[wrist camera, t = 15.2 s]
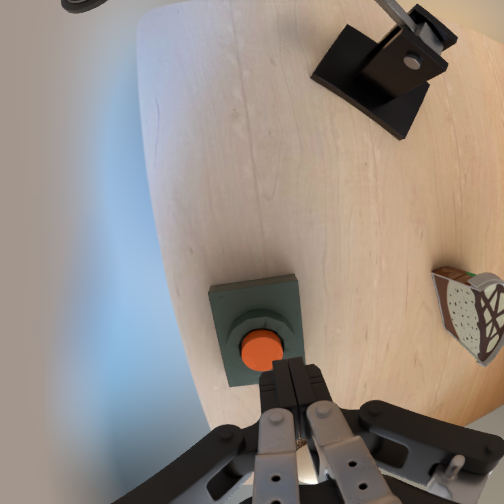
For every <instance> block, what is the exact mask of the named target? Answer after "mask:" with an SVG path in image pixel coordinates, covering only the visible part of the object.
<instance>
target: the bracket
mask: <svg viewBox="0 0 504 504" xmlns="http://www.w3.org/2000/svg"><path fill="white" fill-rule="evenodd" d="M407 14H408V15H409V17H410V18H411V19H412V20H413V21H414V23H415V24H418V23H424V22H426V23H427V24H428V26H429V27H430V28H431V30H432V31H433V32H434V34H435V35H436V37H437V38H438V39H439V41H440V42H441V44H442V45H443V50H442V51H444V50H446V49H447V48H449V47H451V46H452V45H454V44H455V43H456V42H457V39H458V37H457V36H456V35H455V34H454V33H453V32H451V31H450V30H449V29H448V28H447V27H446V26H445V25H444V24H442V23H441V22H440V21H439V20H438V19H436V18H435V17H434V16H433V15H432V14H430V13H429V12H428V11H427V10H425V9H424V8H423V7H421V6H420V5H419V4H416V5H415V6H414V7H413V8H412V9H411V10H410V11H409V12H408V13H407ZM447 67H448V63H447V62H446V61H445V60H444V59H443V58H442V57H441V56H440V55H439V54H437V53H436V52H435V51H434V50H433V49H432V48H430V47H429V46H428V45H427V44H426V43H425V42H423V41H422V40H421V39H420V38H418V37H417V36H416V35H415V34H413V33H412V32H411V31H409V30H408V29H407V28H405V27H404V28H403V29H401V28H400V27H399V26H398V25H397V24H396V25H395V26H394V27H393V28H392V29H391V30H390V31H389V32H388V33H387V34H386V35H385V36H384V37H383V38H382V39H381V40H380V41H379V42H378V43H376V42H375V41H373V40H372V39H370V38H369V37H367V36H366V35H364V34H363V33H361V32H359V31H358V30H356V29H355V28H353V27H351V26H350V25H348V24H347V25H346V26H345V28H344V29H343V31H342V32H341V33H340V35H339V36H338V38H337V39H336V41H335V42H334V43H333V45H332V46H331V48H330V49H329V51H328V52H327V53H326V55H325V56H324V58H323V59H322V61H321V62H320V64H319V65H318V67H317V68H316V70H315V71H314V73H313V74H312V76H311V79H313V80H314V81H316V82H318V83H319V84H321V85H323V86H324V87H326V88H328V89H329V90H331V91H332V92H334V93H335V94H337V95H338V96H340V97H342V98H343V99H345V100H346V101H348V102H349V103H350V104H352V105H353V106H355V107H356V108H358V109H359V110H360V111H362V112H363V113H365V114H366V115H367V116H369V117H370V118H372V119H373V120H374V121H376V122H377V123H378V124H379V125H381V126H382V127H383V128H385V129H386V130H387V131H388V132H390V133H391V134H392V135H393V136H395V137H396V138H397V139H398V140H402V139H405V137H406V135H407V133H408V131H409V129H410V127H411V125H412V123H413V121H414V119H415V117H416V115H417V112H418V110H419V108H420V106H421V104H422V102H423V99H424V97H425V95H426V93H427V91H428V88H429V86H430V84H429V83H428V82H426V81H428V80H430V79H432V78H434V77H435V76H437V75H439V74H441V73H443V72H445V71H446V70H447Z"/></svg>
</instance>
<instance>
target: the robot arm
mask: <svg viewBox="0 0 504 504" xmlns="http://www.w3.org/2000/svg"><path fill="white" fill-rule="evenodd" d="M68 1H69V2H70V3H72V4H80V3H84V2H87V1H89V0H68ZM287 363H288V364H287ZM272 366H273V370H272V371H265V372H262V374H261V375H260V377H259V388H260V401H261V417H260V419H259V420H258V421H257V422H256V423H255V424H253V425H252V426H249V427H246V428H243V429H240V428H239V427H238V426H235V425H230V424H226V425H221V426H218V427H216V428H215V429H213V430H212V431H211V432H210V433H208V434H207V435H206V436H205V437H204V438H202V439H201V440H200V441H199V442H198V443H196V444H195V445H194V446H192V447H191V448H190V449H189V450H187V451H186V452H185V453H184V454H182V455H181V456H180V457H178V458H177V459H176V460H174V461H173V462H172V463H170V464H169V465H168V466H166V467H165V468H164V469H162V470H161V471H160V472H158V473H157V474H155V475H154V476H152V477H151V478H150V479H148V480H147V481H145V482H144V483H142V484H141V485H139V486H138V487H136V488H135V489H133V490H132V491H130V492H129V493H127V494H126V495H124V496H123V497H121V498H119V499H118V500H116V501H115V502H113V503H111V504H222V503H224V502H225V500H227V499H228V498H229V497H230V496H231V495H232V494H233V493H234V492H235V491H236V490H237V489H238V488H239V487H240V486H241V485H242V484H243V483H244V482H245V481H246V480H247V479H248V478H249V477H250V476H251V474H252V472H254V482H253V496H252V497H250V498H248V499H246V500H244V501H242V502H241V503H239V504H476V503H477V501H478V499H479V497H480V494H481V492H482V490H483V488H484V486H485V483H486V481H487V478H488V476H489V475H490V474H491V472H492V471H493V470H494V468H495V467H496V465H497V464H498V463H499V461H500V460H501V458H502V457H503V455H504V440H503V439H502V438H501V437H499V436H497V435H493V434H488V433H483V432H480V431H476V430H472V429H469V428H465V427H461V426H458V425H454V424H451V423H447V422H444V421H440V420H437V419H434V418H431V417H428V416H424V415H421V414H418V413H415V412H412V411H409V410H406V409H403V408H401V407H398V406H395V405H392V404H389V403H387V402H384V401H380V400H373V401H369V402H366V403H365V404H363V405H362V406H361V407H360V409H359V410H347V409H342V408H340V407H338V405H337V404H335V403H334V402H333V401H332V398H331V396H330V393H329V391H328V388H327V386H326V383H325V380H324V378H323V375H322V373H321V370H320V369H319V368H318V367H317V366H316V365H314V364H310V365H305V364H304V361H303V358H302V356H300V357H293V358H287V359H281V360H273V361H272ZM299 434H300V438H301V439H305V438H306V441H307V451H308V454H309V457H310V460H311V463H312V466H313V469H314V472H315V475H316V478H317V481H318V484H316V485H299V483H298V468H297V455H296V451H297V441H296V440H299ZM378 467H379V468H381V469H383V470H386V471H388V472H391V473H393V474H395V475H398V476H400V477H402V478H405V479H408V480H410V481H413V482H415V483H418V484H421V485H424V486H426V487H427V491H428V492H427V491H424V490H421V489H419V488H417V487H414V486H412V485H410V484H407V483H405V482H403V481H401V480H398V479H396V478H394V477H391V476H388V475H384V474H381V472H380V470H379V468H378Z"/></svg>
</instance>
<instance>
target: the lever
mask: <svg viewBox="0 0 504 504" xmlns="http://www.w3.org/2000/svg"><path fill="white" fill-rule="evenodd" d="M375 1H376V2H377V3H378V4H379V5H380V6H381V7H382V8H383V9H384V10H385V11H386V13H387V14H388V15H389V16H390V17H391V18H392V19H393V20H394V21H395V22H396V23H397V25H398V26H399V27H400V28H401V29H403V28H404V27H405V28H407V29H408V30H409V31H411V32H412V33H413V34H415V35H416V36H417V37H418V38H420V39H421V40H422V41H423V42H425V43H426V44H427V45H428V46H429V47H430V48H432V49H433V50H434V51H435V52H436V53H437V54H439V55H441V52H442V50H443V45H442V44H441V42H440V41H439V39H438V38H437V37H436V35H435V34H434V32H433V31H432V30H431V28H430V27H429V26H428V24H427V23H426V22H424V23H418V24H415V23H414V21H413V20H412V19H411V18H410V17H409V15H408V14H407V13H406V12H405V11H404V10H403V8H402V7H401V6H400V5H399V4H398V3H397V2H396V1H395V0H375Z"/></svg>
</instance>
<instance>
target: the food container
mask: <svg viewBox="0 0 504 504" xmlns="http://www.w3.org/2000/svg"><path fill="white" fill-rule="evenodd" d="M431 273H432V277H433V281H434V285H435V289H436V293H437V298H438V302H439V307H440V311H441V316H442V321H443V327H444V329H445V330H446V331H447V332H449V333H450V334H451V335H452V336H453V337H454V338H455V339H456V340H457V341H458V342H459V343H460V344H461V345H462V346H463V347H464V348H465V349H467V350H468V351H469V352H470V353H471V354H472V355H473V356H474V357H475V358H476V359H477V361H476V363H478V364H479V365H481V366H484V367H486V366H488V365H489V364H490V363H491V361H492V360H493V359H494V358H495V357H496V355H497V354H498V353H499V351H500V350H501V348H502V347H503V345H504V281H503V280H502V279H500V278H499V277H498V276H497V275H495V274H492V273H481V274H478V275H475V274H472V273H469V272H465V271H462V270H459V269H455V268H452V267H441V268H438V269H436V270H434V271H432V272H431Z"/></svg>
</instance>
